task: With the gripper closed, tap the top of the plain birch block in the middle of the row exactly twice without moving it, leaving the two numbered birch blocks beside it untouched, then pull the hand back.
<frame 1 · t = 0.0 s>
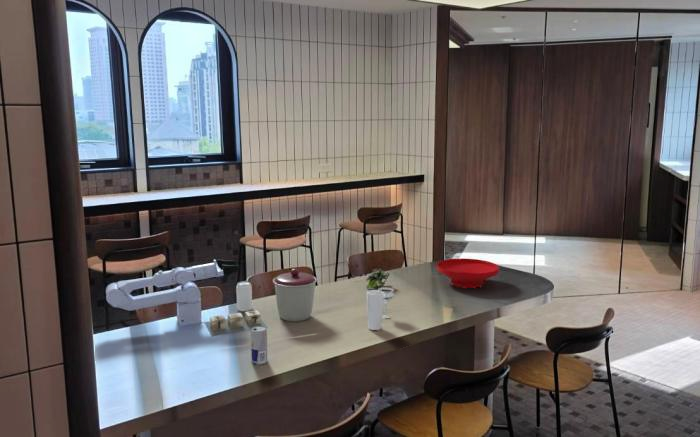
hand: (237, 265, 233), 22 cm above the table, tool horizontal, fingers open, 7 cm apart
green leafy plant: (378, 288, 277), on the table
plain block: (235, 325, 224), resting on mat
block numbered 1: (218, 327, 222), resting on mat
mat: (235, 326, 225), on the table
bowl: (466, 284, 284), on the table
wineglass: (385, 317, 236), on the table
energy drink: (259, 362, 192), on the table
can: (244, 310, 244), on the table
canister: (295, 318, 235), on the table
block numbered 7: (252, 322, 227), resting on mat
drinking glass: (374, 329, 223), on the table
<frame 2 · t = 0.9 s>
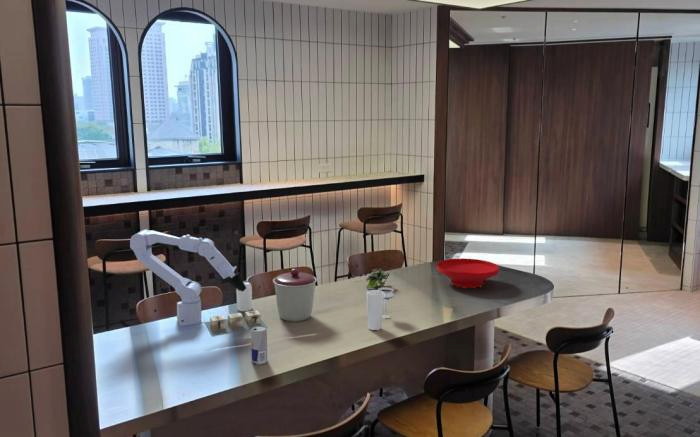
hand: (243, 289, 227), 14 cm above the table, tool tilted 40°, fingers open, 7 cm apart
nothing on the table moved.
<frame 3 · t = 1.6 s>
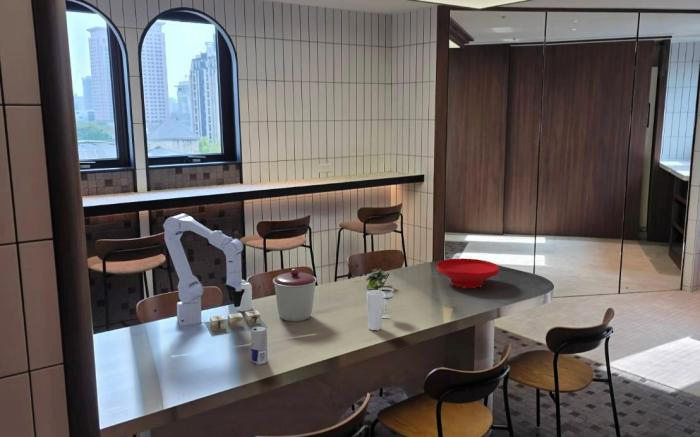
hand: (235, 303, 223), 9 cm above the table, tool pointing down, fingers open, 7 cm apart
nothing on the table moved.
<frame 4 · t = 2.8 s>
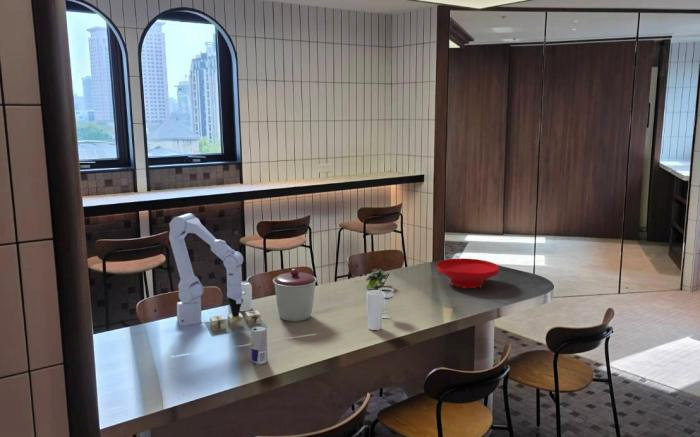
hand: (235, 315, 224), 4 cm above the table, tool pointing down, fingers closed, pressing on plain block
plain block: (235, 325, 224), resting on mat, touching gripper
everything else where it was.
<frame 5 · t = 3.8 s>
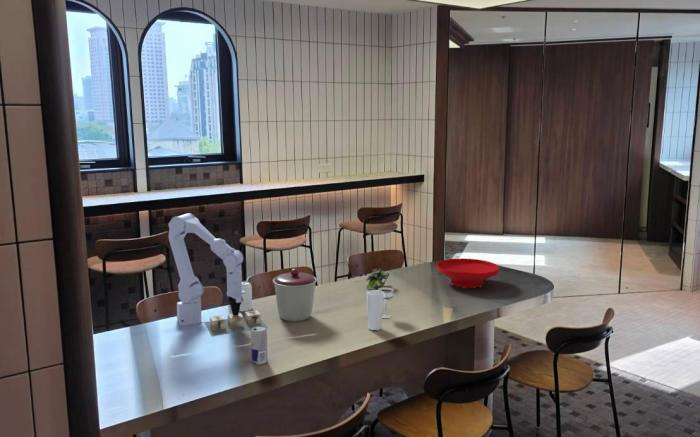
hand: (235, 314, 224), 5 cm above the table, tool pointing down, fingers closed
plain block: (235, 325, 224), resting on mat
everything else where it was.
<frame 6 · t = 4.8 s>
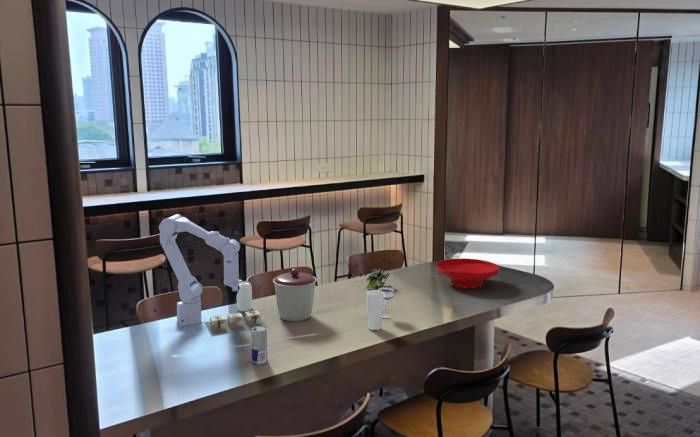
hand: (232, 303, 226), 9 cm above the table, tool pointing down, fingers closed
nothing on the table moved.
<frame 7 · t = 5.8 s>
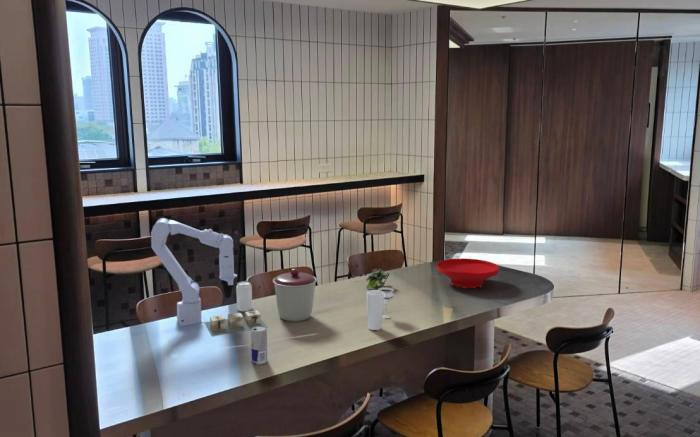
hand: (227, 297, 231), 9 cm above the table, tool pointing down, fingers closed
nothing on the table moved.
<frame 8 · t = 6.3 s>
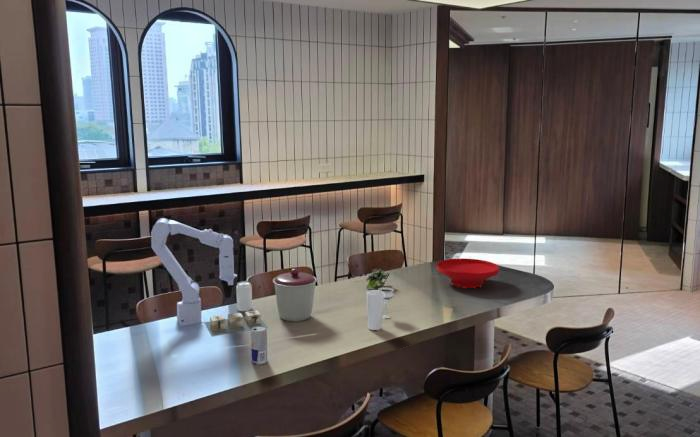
hand: (227, 297, 231), 9 cm above the table, tool pointing down, fingers closed
nothing on the table moved.
at the end: plain block moved 0.0 cm from its start; block numbered 1 moved 0.0 cm from its start; block numbered 7 moved 0.0 cm from its start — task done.
